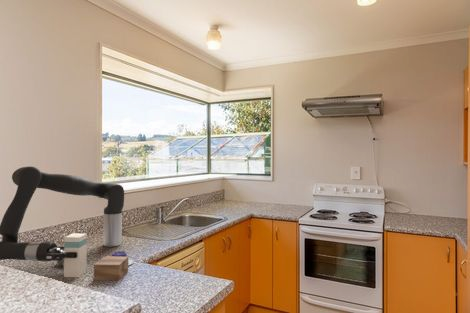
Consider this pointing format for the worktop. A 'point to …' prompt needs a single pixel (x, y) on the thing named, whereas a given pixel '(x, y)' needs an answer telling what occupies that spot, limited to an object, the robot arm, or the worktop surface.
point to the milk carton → (79, 245)
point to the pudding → (122, 254)
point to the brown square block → (110, 268)
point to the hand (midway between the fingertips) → (81, 252)
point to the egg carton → (60, 262)
